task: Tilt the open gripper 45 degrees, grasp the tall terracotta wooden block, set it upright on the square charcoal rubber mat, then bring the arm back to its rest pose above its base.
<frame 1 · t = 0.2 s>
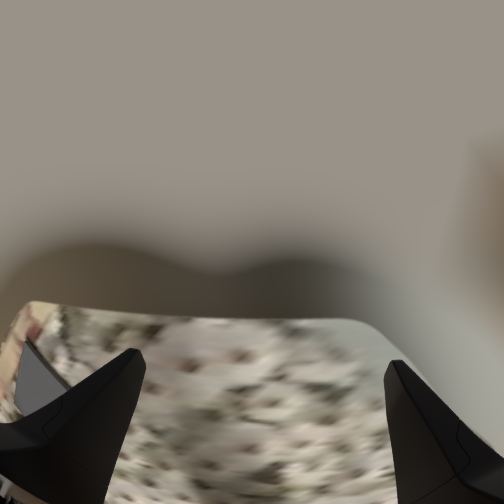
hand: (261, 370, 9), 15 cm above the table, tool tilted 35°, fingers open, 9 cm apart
mat: (48, 406, 25), on the table
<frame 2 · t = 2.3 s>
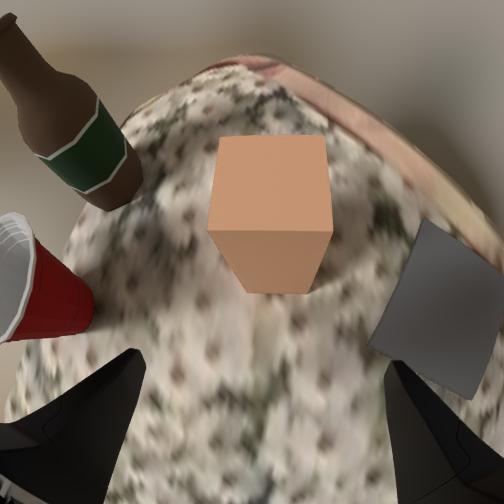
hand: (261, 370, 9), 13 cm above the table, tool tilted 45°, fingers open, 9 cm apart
block: (278, 264, 24), on the table
mat: (451, 311, 21), on the table
beer bottle: (117, 184, 29), on the table
plastic cup: (77, 306, 25), on the table
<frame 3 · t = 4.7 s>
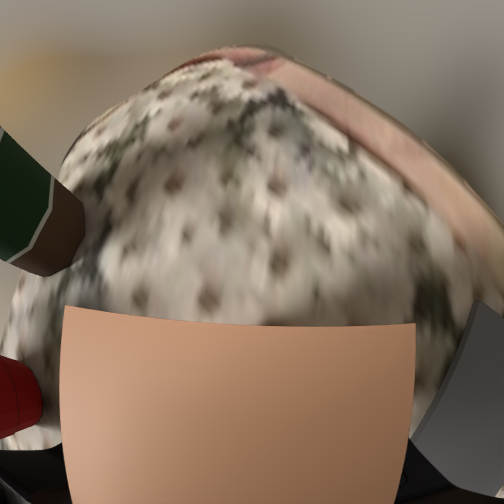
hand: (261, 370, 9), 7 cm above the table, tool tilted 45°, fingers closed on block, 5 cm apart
block: (268, 384, 15), on the table, touching gripper
mat: (490, 417, 11), on the table
beer bottle: (57, 236, 20), on the table
plastic cup: (26, 392, 16), on the table
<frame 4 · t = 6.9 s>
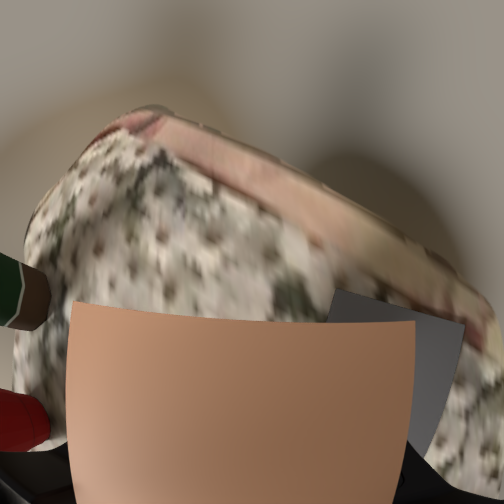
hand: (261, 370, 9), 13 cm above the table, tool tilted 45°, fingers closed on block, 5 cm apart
block: (270, 384, 15), point 6 cm above the table, touching gripper
mat: (384, 385, 19), on the table
beer bottle: (34, 300, 25), on the table
plastic cup: (37, 417, 21), on the table
when the fingers open (9 cm above the table, at t = 8.9 s): block drops 1 cm, resting on mat.
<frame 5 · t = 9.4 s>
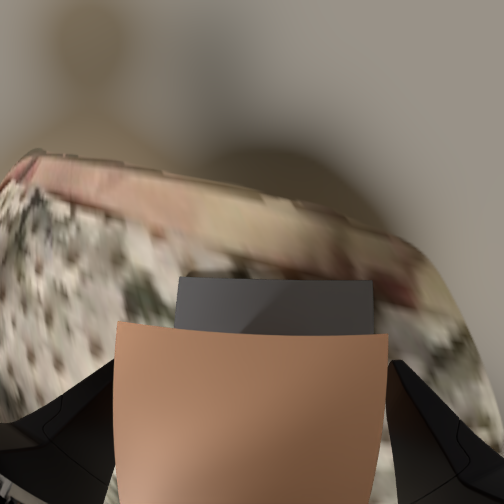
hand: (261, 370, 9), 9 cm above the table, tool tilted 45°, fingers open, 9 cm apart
block: (270, 381, 16), point 1 cm above the table, touching mat
mat: (271, 379, 17), on the table
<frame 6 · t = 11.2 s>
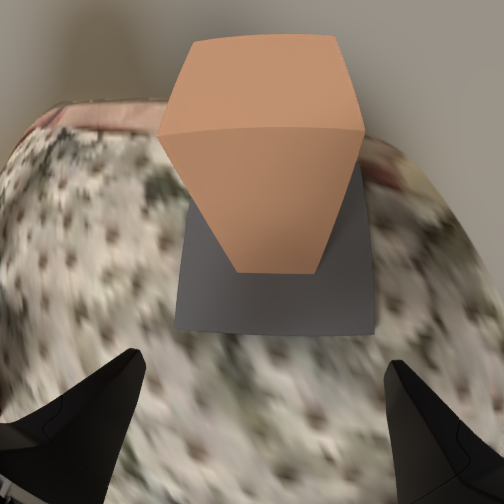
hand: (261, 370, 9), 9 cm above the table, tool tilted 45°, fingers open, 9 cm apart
block: (276, 237, 19), point 1 cm above the table, touching mat
mat: (276, 240, 20), on the table
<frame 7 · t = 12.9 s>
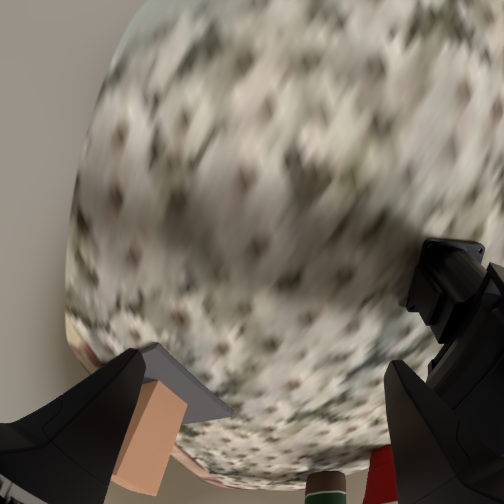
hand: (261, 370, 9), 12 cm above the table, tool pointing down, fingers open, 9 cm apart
block: (160, 395, 30), point 1 cm above the table, touching mat
mat: (162, 391, 30), on the table
beer bottle: (325, 475, 40), on the table
plastic cup: (385, 450, 33), on the table
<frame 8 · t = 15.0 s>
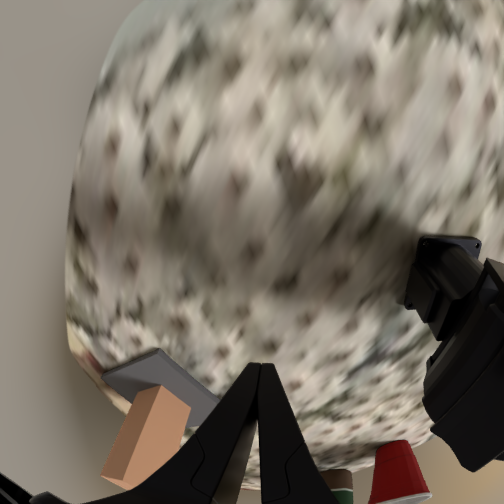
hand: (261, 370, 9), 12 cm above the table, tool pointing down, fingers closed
block: (163, 400, 30), point 1 cm above the table, touching mat
mat: (165, 395, 31), on the table
beer bottle: (332, 473, 40), on the table
plastic cup: (390, 446, 34), on the table
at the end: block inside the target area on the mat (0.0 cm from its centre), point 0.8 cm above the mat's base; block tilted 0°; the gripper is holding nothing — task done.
